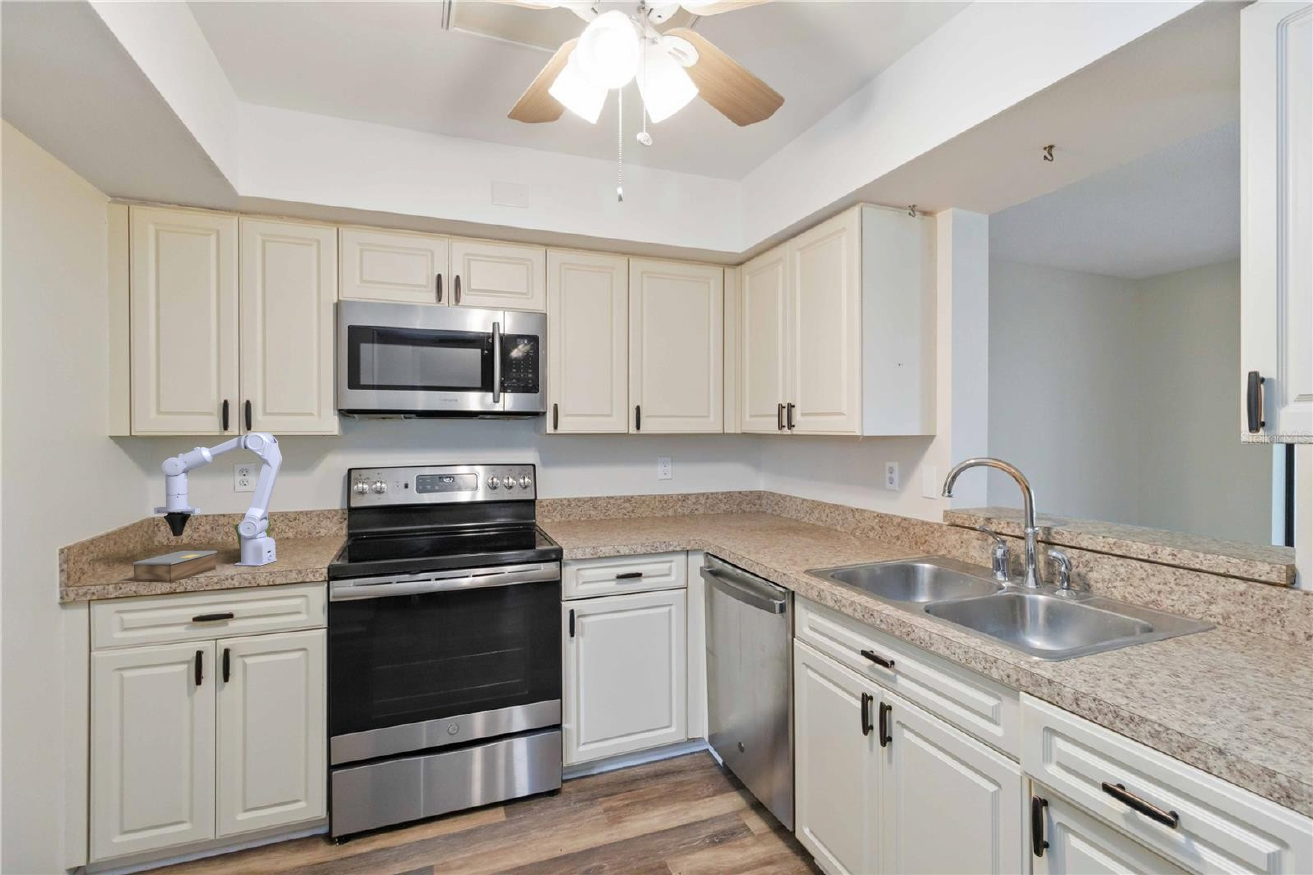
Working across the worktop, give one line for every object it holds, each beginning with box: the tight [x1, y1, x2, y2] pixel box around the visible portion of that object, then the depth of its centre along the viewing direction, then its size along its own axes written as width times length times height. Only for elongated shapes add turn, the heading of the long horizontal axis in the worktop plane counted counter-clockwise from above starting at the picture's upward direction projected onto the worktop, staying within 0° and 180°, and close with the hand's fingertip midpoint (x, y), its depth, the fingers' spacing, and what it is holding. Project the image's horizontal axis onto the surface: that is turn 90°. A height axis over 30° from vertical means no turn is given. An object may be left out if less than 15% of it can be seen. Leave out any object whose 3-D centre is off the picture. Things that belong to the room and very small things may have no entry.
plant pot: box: [232, 521, 273, 554], centre depth 215 cm, size 12×12×11 cm
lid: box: [132, 550, 218, 566], centre depth 186 cm, size 12×16×1 cm
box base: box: [133, 553, 217, 583], centre depth 186 cm, size 12×16×5 cm
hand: (177, 535), depth 196 cm, fingers closed
